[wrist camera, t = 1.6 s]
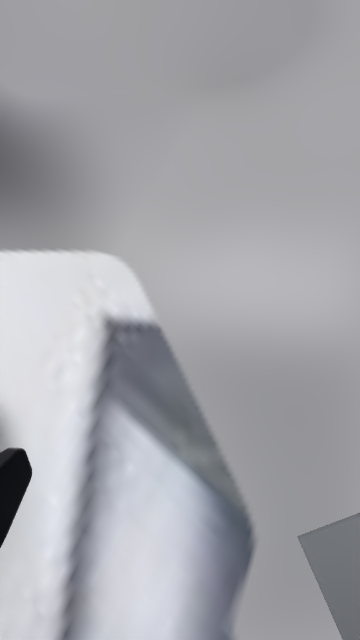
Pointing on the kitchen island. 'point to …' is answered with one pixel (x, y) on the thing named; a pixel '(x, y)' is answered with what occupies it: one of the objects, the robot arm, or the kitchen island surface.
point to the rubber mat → (338, 570)
